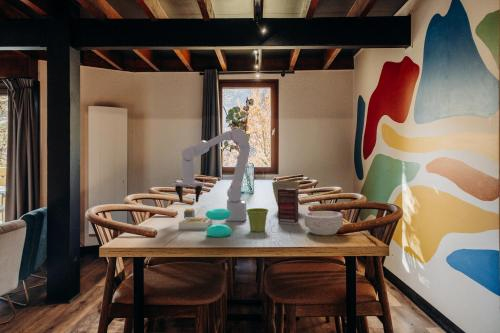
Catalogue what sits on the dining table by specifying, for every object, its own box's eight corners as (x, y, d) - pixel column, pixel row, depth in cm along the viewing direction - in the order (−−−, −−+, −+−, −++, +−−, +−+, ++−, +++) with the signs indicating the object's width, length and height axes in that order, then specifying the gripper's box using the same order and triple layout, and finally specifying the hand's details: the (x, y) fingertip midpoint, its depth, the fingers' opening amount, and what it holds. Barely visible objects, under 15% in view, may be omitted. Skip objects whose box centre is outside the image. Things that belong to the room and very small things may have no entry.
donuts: (212, 207, 147) (234, 208, 143) (213, 231, 147) (235, 232, 144) (201, 211, 138) (224, 212, 134) (201, 236, 138) (225, 238, 135)
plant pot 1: (253, 234, 141) (252, 212, 141) (242, 229, 149) (242, 209, 149) (272, 231, 145) (272, 210, 145) (261, 227, 154) (261, 207, 153)
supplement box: (298, 222, 161) (298, 188, 161) (295, 225, 157) (295, 189, 156) (281, 221, 165) (280, 187, 164) (277, 223, 161) (277, 189, 160)
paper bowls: (301, 229, 149) (300, 210, 148) (336, 228, 150) (336, 209, 149) (309, 238, 134) (309, 217, 133) (348, 237, 135) (348, 216, 134)
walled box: (212, 223, 162) (211, 217, 161) (206, 229, 150) (206, 222, 149) (186, 223, 163) (186, 217, 163) (178, 229, 151) (178, 222, 151)
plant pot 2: (281, 208, 202) (281, 180, 202) (304, 210, 194) (304, 181, 193) (267, 211, 190) (266, 182, 189) (291, 214, 182) (291, 184, 181)
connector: (194, 220, 170) (194, 208, 169) (192, 222, 166) (192, 209, 165) (186, 220, 170) (186, 208, 170) (184, 222, 166) (184, 209, 166)
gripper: (170, 174, 163) (171, 203, 164) (201, 174, 162) (202, 203, 163) (175, 173, 170) (176, 200, 171) (204, 172, 169) (205, 200, 170)
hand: (189, 201), depth 167 cm, fingers open, 7 cm apart
